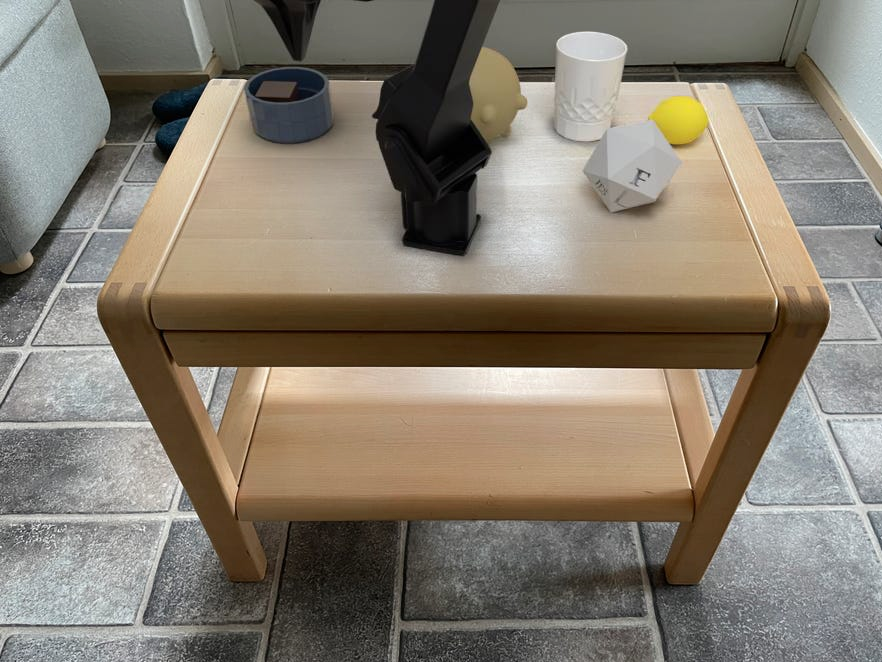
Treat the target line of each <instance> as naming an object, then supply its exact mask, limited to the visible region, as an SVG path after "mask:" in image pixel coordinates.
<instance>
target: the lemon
mask: <svg viewBox="0 0 882 662" xmlns="http://www.w3.org/2000/svg"><path fill="white" fill-rule="evenodd" d="M652 119H653V121H654V122H655V124H656V125H657V126H658V128H659V129H660V131H661V132H662V134H663V135H664V137H665V138H666V140H667V141H668V143H669V144H670V145H685V144H690V143H691V142H693V141H694V140H696V139H698V138H699V137H700V136H702V134H703V133H704V132H705V130H706V129H707V128H708V126H709V124H710V119H709V116H708V113H707V111H706V108H705V107H704V105H703V104H702V103H701V102H699V101H698V100H697V99H696V98H693V97H691V96H689V95H675V96H670V97H668V98H667V99H666V98H665V99H664V100H662V101H660V103H659V104H658V105H657V106H656V108H655V109H654V110H653V111H651V113H650V114H649V115H648V116H647V120H652Z"/></svg>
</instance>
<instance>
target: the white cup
mask: <svg viewBox="0 0 882 662" xmlns="http://www.w3.org/2000/svg"><path fill="white" fill-rule="evenodd" d="M555 44H556V45H555V67H554V97H553V98H554V99H553V101H554V103H553V104H554V115H553V116H554V117H553V118H554V119H553V128H554V130H555V131H556V133H557V134H558V135H560V136H561V137H562V138H565V139H567V140H571V141H575V142H587V143H588V142H595V141H600V139H601V138H602V136H603V134H604V133H605V131H606V129H607V128H612V127H611V126H612V122H613V117H614V113H615V111H616V107H617V101H618V98H619V93H620V88H621V84H622V79H623V73H624V69H625V63H626V59H627V53H628V45H627V44H626V42H624V40H622V39H621V38H619V37H617V36H614V35H612V34H608V33H605V32H598V31H576V32H572V33H571V32H570V33H567V34H565V35H563V36H561V37H560V38H559V39H558V40H557V41H556V43H555Z"/></svg>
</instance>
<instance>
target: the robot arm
mask: <svg viewBox="0 0 882 662" xmlns="http://www.w3.org/2000/svg"><path fill="white" fill-rule="evenodd" d="M253 1H254V2H256V3H257V4H258V5H260V7H262V9H263V11H264V12H265V13H266V15H267V16H268V18H269V19H270V21H271V22H272V24H273V27H275V31H277V33H278V35H279V37H280V39H281V40H282V42H283V44H284V46H285V48H286V50H287V52H288V54H289V55H290V57H291V59H292V60H293V61H294V62H301V63H302V62H303V61H304V60H305V58H306V56H307V52H308V48H309V44H310V40H311V35H312V32H313V27H314V23H315V20H316V16H317V12H318V10H319V7H320V5H321V1H322V0H253ZM354 1H356V2H362V3H363V2H364V3H369V2H371V1H374V0H354ZM500 2H501V0H433V4H432V7H431V10H430V14H429V16H428V20H427V24H426V27H425V30H424V33H423V37H422V39H421V43H420V45H419V49H418V53H417V56H416V59H415V63H413V64H411V65H409V66H408V67H406V68H404V69H402V70H400V71H398V72H397V73H394V74H393V75H391V76H389V77H387V78H385V79H384V80H383V82H382V84H381V87H380V91H379V100H378V105H377V108H376V110H375V111H374V112H373V113H372V114H371V117H372V119H374V120H377V121H376V123H375V140H376V141H377V143H378V148H379V150H380V153H381V156H382V159H383V162H384V164H385V168H386V170H387V173H388V175H389V178H390V181H391V185H392V187H393V189H394V190H395V191H397V192H400V205H401V220H402V227H403V229H405V230H406V231H405V233H404V234H403V236H402V238H401V243H402V244H403V245H405V246H409V247H414V248H419V249H425V250H426V249H427V250H432V251H437V252H443V253H444V252H445V253H449V254H455V255H460V256H461V255H466V254H467V252H468V250H469V248H470V245H471V243H472V242H473V239H474V237H475V235H476V232H477V230H478V228H479V226H480V224H481V222H482V216H481V215H480V214H479V213H477V209H478V208H477V206H478V205H477V202H478V199H477V196H478V174H477V173H478V172H479V171H480V170H482V169H485V168H487V165H488V163H489V161H490V159H491V156H492V153H493V151H492V148H491V147H490V145H489V144H488V142H486V141H485V139H484V138H483V136H482V135H481V133H480V132H479V130H478V129H477V127H476V126H475V124H474V123H473V121H472V120H471V115H472V110H473V105H474V103H473V97H472V93H471V89H470V85H469V81H470V77H471V74H472V72H473V69H474V66H475V64H476V61H477V59H478V56H479V53H480V51H481V48H482V47H484V43H485V40H486V38H487V36H488V33H489V30H490V28H491V25H492V22H493V20H494V17H495V15H496V12H497V9H498V6H499V4H500Z"/></svg>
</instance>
